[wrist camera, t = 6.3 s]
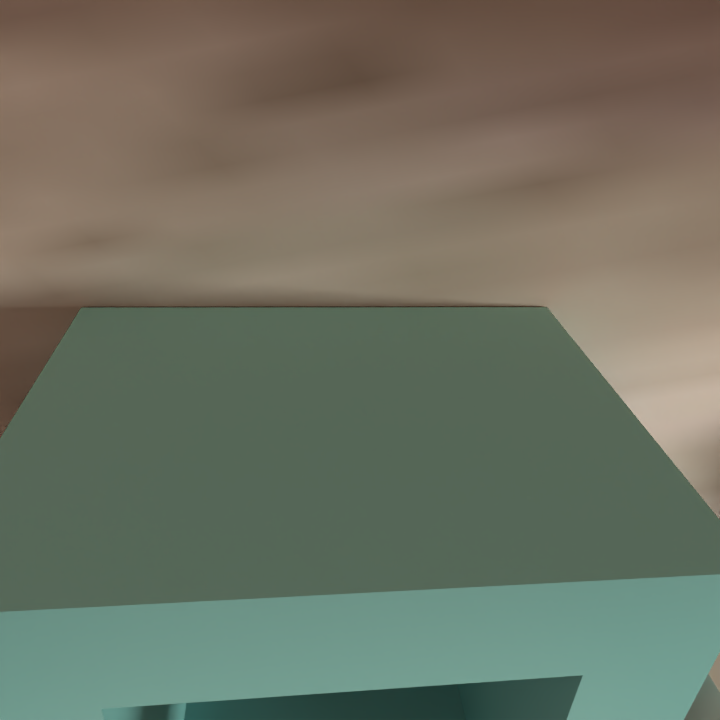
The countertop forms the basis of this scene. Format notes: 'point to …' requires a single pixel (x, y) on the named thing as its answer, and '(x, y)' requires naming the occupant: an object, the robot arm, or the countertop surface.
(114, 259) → the countertop surface
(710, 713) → the robot arm
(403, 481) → the bead
